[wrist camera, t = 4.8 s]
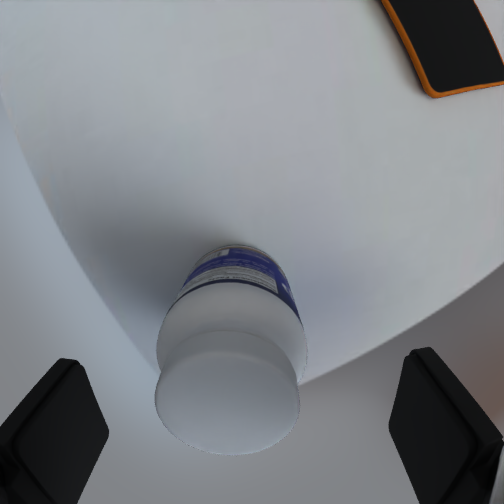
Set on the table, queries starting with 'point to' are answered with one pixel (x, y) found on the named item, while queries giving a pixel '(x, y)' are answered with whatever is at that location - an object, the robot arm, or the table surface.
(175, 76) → the table surface
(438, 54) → the smartphone
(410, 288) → the table surface
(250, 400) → the pill bottle
